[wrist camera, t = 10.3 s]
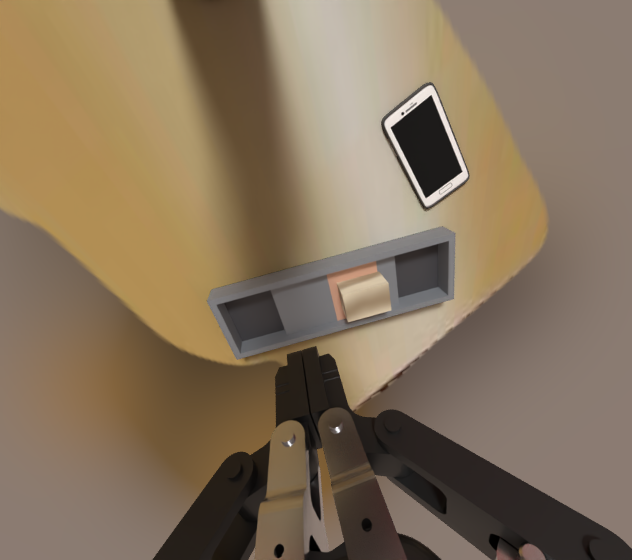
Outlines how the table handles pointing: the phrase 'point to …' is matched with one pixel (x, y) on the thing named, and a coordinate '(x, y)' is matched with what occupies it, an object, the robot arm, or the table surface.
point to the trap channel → (332, 292)
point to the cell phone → (426, 145)
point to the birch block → (364, 296)
